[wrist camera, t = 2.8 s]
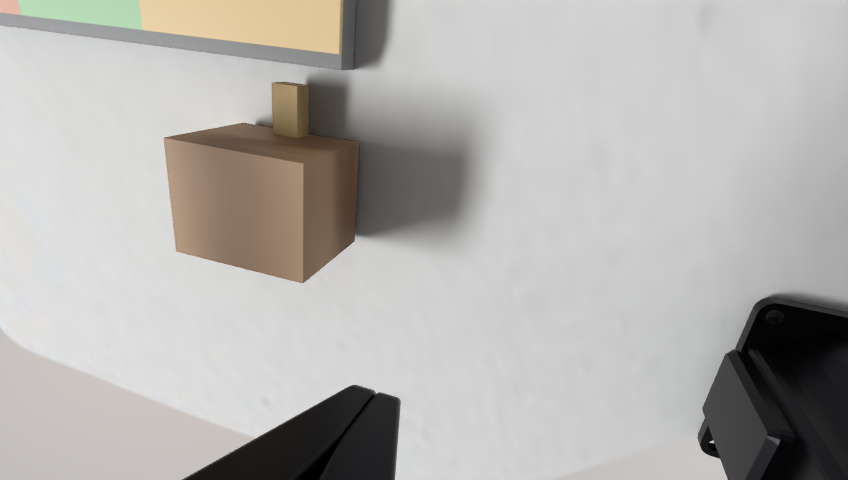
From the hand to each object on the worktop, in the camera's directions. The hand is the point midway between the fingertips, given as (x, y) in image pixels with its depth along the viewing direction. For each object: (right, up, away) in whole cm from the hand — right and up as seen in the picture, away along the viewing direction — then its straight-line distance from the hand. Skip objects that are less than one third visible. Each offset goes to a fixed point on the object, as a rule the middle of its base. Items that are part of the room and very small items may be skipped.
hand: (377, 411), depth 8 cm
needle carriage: (-4, +5, +11) cm, 13 cm away
